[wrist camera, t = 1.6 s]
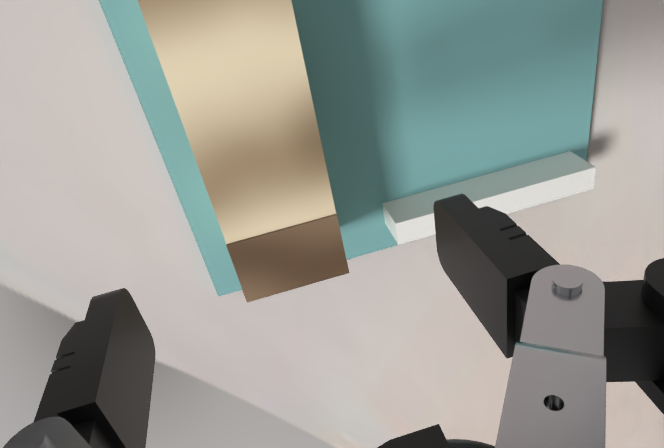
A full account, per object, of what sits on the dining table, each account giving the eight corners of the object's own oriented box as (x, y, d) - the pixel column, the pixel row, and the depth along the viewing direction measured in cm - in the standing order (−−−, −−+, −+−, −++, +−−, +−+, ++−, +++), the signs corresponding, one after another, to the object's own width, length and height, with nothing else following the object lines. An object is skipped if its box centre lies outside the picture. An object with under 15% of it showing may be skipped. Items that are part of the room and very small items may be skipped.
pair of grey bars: (341, -72, 18) (355, -72, 17) (592, -129, 19) (630, -134, 17) (385, 223, 25) (398, 244, 24) (568, 171, 26) (593, 189, 25)
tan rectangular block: (147, -12, 18) (137, 1, 15) (271, -40, 18) (285, -33, 15) (241, 255, 24) (247, 302, 21) (330, 230, 25) (349, 272, 22)
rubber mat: (75, -66, 17) (72, -65, 17) (612, -181, 19) (621, -184, 18) (218, 290, 26) (218, 296, 25) (577, 187, 27) (583, 191, 27)
